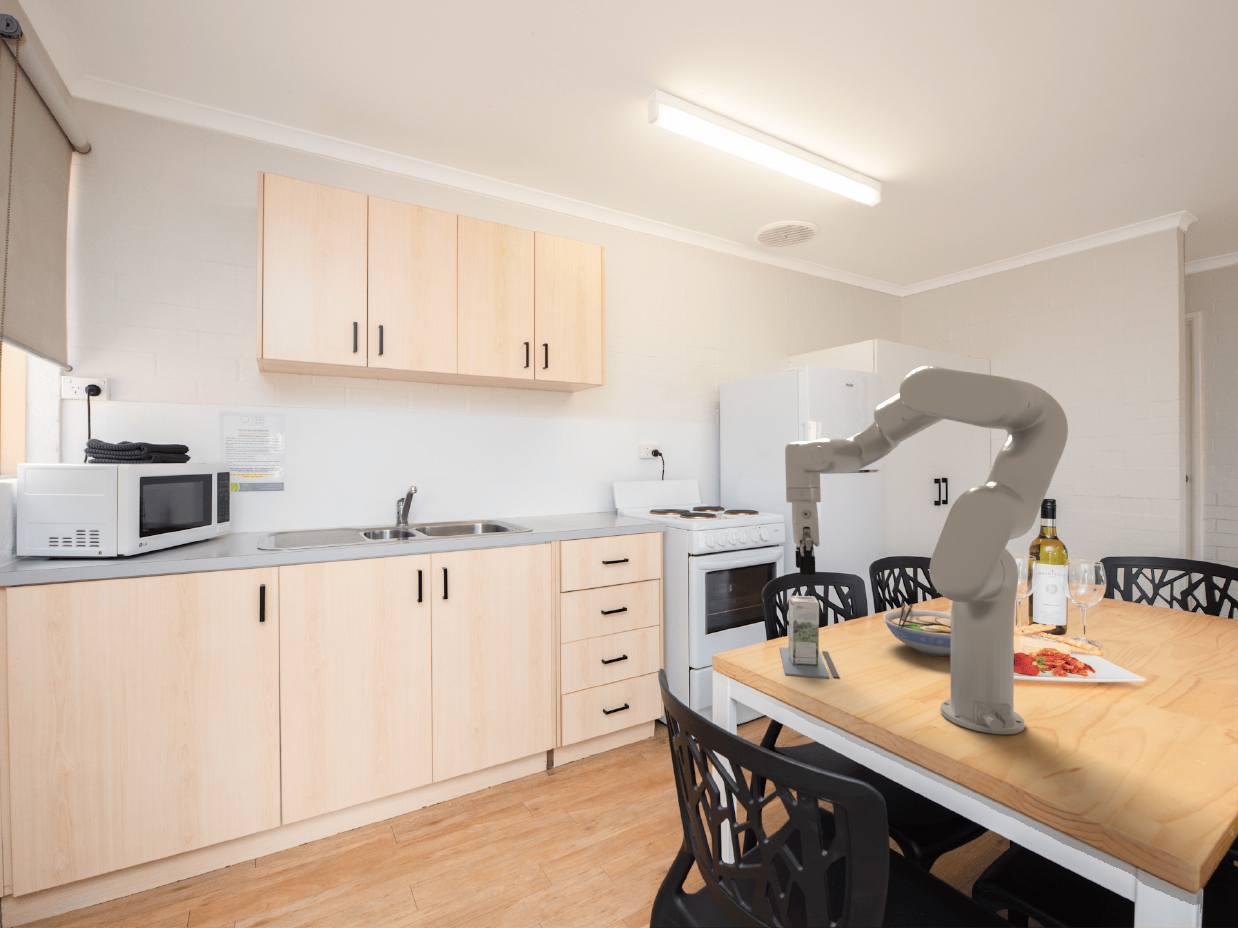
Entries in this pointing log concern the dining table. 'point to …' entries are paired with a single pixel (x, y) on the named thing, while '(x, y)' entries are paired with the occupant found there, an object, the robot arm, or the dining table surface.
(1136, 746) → the dining table surface
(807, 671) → the mat
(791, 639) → the syrup box
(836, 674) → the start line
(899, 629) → the ramen bowl
